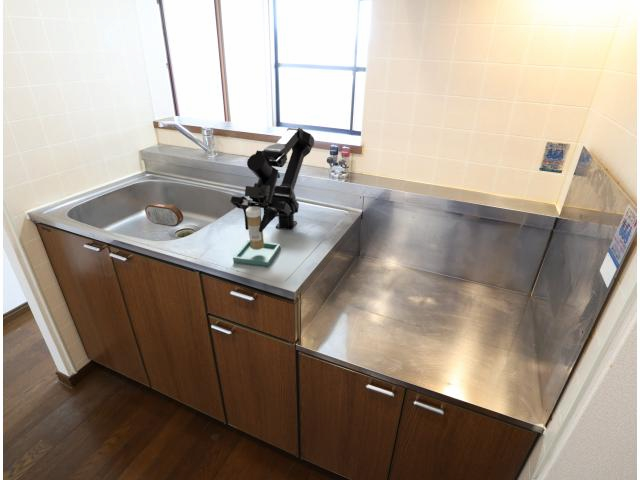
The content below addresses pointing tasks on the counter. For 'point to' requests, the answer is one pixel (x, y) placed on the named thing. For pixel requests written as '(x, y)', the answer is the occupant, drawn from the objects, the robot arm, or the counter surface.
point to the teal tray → (257, 254)
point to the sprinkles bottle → (255, 227)
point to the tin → (164, 214)
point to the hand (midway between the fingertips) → (253, 230)
